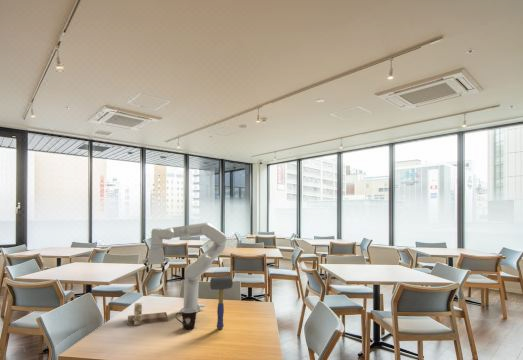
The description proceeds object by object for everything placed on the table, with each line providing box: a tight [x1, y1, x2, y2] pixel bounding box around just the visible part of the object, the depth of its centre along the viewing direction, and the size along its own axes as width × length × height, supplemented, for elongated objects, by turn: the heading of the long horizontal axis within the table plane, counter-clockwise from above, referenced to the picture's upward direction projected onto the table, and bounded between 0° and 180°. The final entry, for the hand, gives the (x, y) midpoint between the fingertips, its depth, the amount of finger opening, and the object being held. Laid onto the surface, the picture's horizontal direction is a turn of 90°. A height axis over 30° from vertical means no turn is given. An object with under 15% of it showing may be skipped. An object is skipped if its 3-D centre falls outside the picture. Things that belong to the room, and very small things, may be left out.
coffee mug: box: [175, 308, 198, 331], centre depth 192 cm, size 12×9×10 cm
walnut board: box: [127, 311, 169, 326], centre depth 204 cm, size 23×10×3 cm, turn 112°
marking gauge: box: [133, 302, 143, 326], centre depth 201 cm, size 4×14×10 cm, turn 22°
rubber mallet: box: [209, 275, 234, 330], centre depth 193 cm, size 12×8×30 cm, turn 112°
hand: (155, 272), depth 221 cm, fingers open, 9 cm apart
